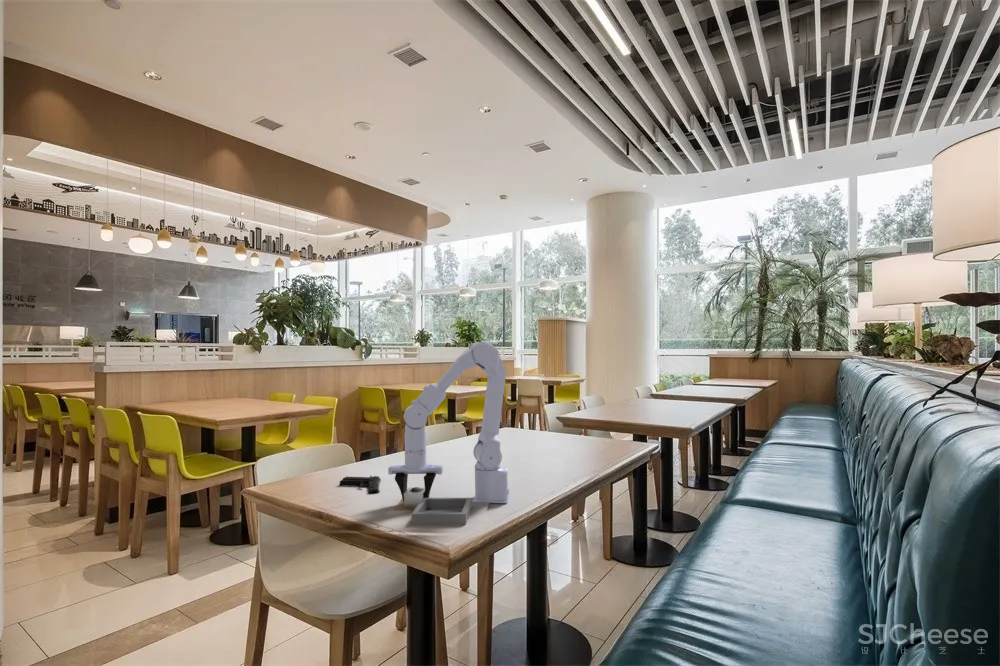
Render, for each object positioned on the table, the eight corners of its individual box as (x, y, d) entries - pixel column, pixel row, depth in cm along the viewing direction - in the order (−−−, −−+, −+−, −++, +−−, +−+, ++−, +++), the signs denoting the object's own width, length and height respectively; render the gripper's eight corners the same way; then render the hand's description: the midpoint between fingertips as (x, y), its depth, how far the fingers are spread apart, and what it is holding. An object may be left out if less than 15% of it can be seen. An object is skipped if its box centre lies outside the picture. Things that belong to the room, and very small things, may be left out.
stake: (437, 500, 138) (437, 483, 138) (430, 512, 128) (430, 493, 128) (402, 500, 139) (402, 483, 139) (392, 512, 129) (392, 493, 129)
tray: (472, 509, 130) (472, 497, 130) (465, 526, 117) (465, 514, 117) (423, 509, 131) (423, 497, 131) (411, 526, 118) (411, 514, 118)
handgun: (334, 491, 142) (379, 488, 144) (341, 476, 159) (381, 473, 162) (334, 500, 142) (379, 496, 144) (341, 483, 159) (381, 481, 162)
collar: (427, 500, 136) (427, 487, 136) (423, 506, 131) (423, 493, 131) (409, 500, 136) (409, 487, 137) (404, 506, 131) (403, 492, 131)
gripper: (384, 453, 130) (385, 505, 130) (439, 453, 130) (439, 505, 129) (392, 448, 137) (392, 497, 137) (443, 447, 137) (444, 497, 136)
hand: (416, 500), depth 134 cm, fingers closed on collar, 5 cm apart
